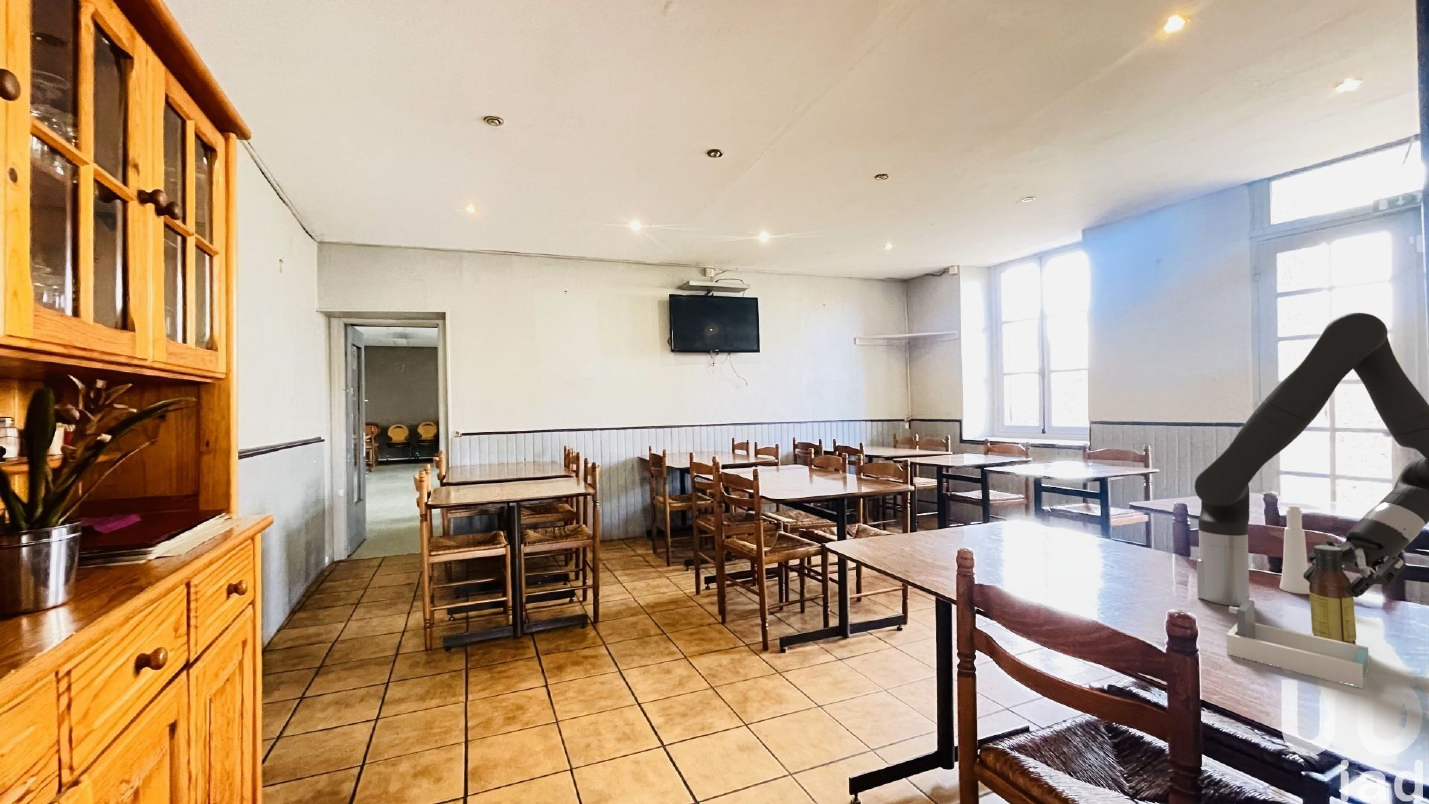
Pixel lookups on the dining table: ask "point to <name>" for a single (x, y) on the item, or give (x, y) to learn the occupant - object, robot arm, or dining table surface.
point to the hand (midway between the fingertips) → (1328, 587)
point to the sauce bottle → (1331, 597)
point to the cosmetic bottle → (1294, 554)
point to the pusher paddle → (1245, 619)
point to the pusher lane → (1302, 653)
